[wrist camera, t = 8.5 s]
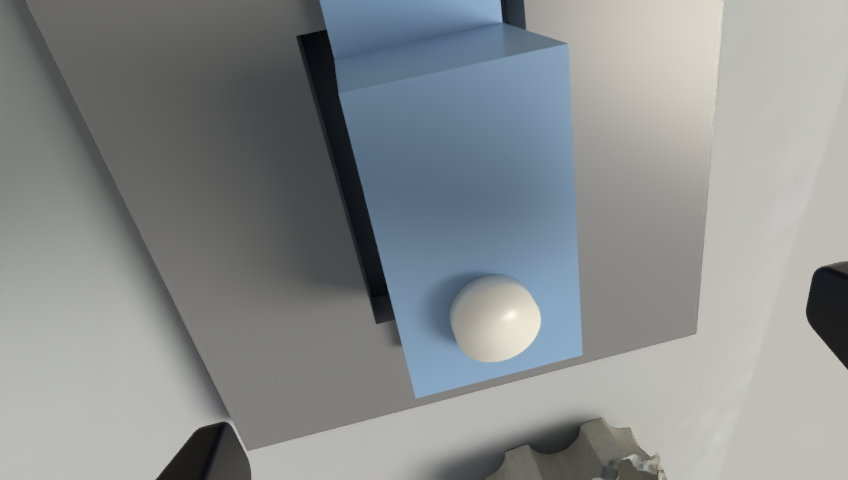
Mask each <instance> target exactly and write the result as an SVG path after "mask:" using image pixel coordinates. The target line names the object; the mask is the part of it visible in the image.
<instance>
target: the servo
mask: <svg viewBox="0 0 848 480" xmlns="http://www.w3.org/2000/svg"><path fill="white" fill-rule="evenodd" d="M320 4H321V8H322V12H323V16H324V20H325V24H326V28H327V32H328V36H329V40H330V44H331V48H332V52H333V56H334V61H335V69H336V77H337V85H338V94H339V98H340V102H341V106H342V110H343V113H344V117H345V121H346V125H347V129H348V133H349V137H350V141H351V145H352V149H353V153H354V157H355V161H356V165H357V169H358V173H359V177H360V181H361V185H362V188H363V192H364V196H365V200H366V204H367V208H368V212H369V216H370V220H371V224H372V228H373V232H374V236H375V240H376V244H377V248H378V252H379V256H380V260H381V263H382V267H383V271H384V275H385V279H386V283H387V287H388V291H389V295H390V299H391V303H392V307H393V311H394V315H395V319H396V323H397V327H398V331H399V335H400V338H401V342H402V346H403V350H404V354H405V358H406V362H407V366H408V370H409V374H410V378H411V382H412V386H413V390H414V394H415V398H420V397H424V396H428V395H431V394H435V393H439V392H443V391H447V390H451V389H455V388H458V387H462V386H466V385H470V384H474V383H478V382H481V381H485V380H489V379H493V378H497V377H501V376H505V375H508V374H512V373H516V372H520V371H524V370H528V369H532V368H535V367H539V366H543V365H547V364H551V363H555V362H559V361H562V360H566V359H570V358H574V357H578V356H582V355H583V352H582V330H581V309H580V287H579V265H578V243H577V222H576V200H575V178H574V156H573V135H572V113H571V91H570V69H569V48H568V43H565V42H562V41H559V40H556V39H552V38H549V37H546V36H543V35H540V34H537V33H533V32H530V31H527V30H524V29H521V28H518V27H515V26H511V25H508V24H505V23H503V21H502V11H501V1H500V0H320Z"/></svg>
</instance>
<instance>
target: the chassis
mask: <svg viewBox="0 0 848 480" xmlns="http://www.w3.org/2000/svg"><path fill="white" fill-rule="evenodd" d="M25 2H26V4H27V6H28V8H29V10H30V12H31V14H32V16H33V18H34V20H35V22H36V24H37V26H38V28H39V30H40V32H41V34H42V36H43V38H44V40H45V42H46V44H47V46H48V48H49V51H50V53H51V55H52V57H53V59H54V61H55V63H56V65H57V67H58V69H59V71H60V73H61V75H62V77H63V79H64V81H65V83H66V85H67V87H68V89H69V91H70V93H71V95H72V97H73V99H74V101H75V103H76V105H77V107H78V109H79V111H80V113H81V115H82V117H83V119H84V121H85V123H86V125H87V127H88V129H89V131H90V134H91V136H92V138H93V140H94V142H95V144H96V146H97V148H98V150H99V152H100V154H101V156H102V158H103V160H104V162H105V164H106V166H107V168H108V170H109V172H110V174H111V176H112V178H113V180H114V182H115V184H116V186H117V188H118V190H119V192H120V194H121V196H122V198H123V200H124V202H125V204H126V206H127V208H128V210H129V212H130V214H131V217H132V219H133V221H134V223H135V225H136V227H137V229H138V231H139V233H140V235H141V237H142V239H143V241H144V243H145V245H146V247H147V249H148V251H149V253H150V255H151V257H152V259H153V261H154V263H155V265H156V267H157V269H158V271H159V273H160V275H161V277H162V279H163V281H164V283H165V285H166V287H167V289H168V291H169V293H170V295H171V297H172V300H173V302H174V304H175V306H176V308H177V310H178V312H179V314H180V316H181V318H182V320H183V322H184V324H185V326H186V328H187V330H188V332H189V334H190V336H191V338H192V340H193V342H194V344H195V346H196V348H197V350H198V352H199V354H200V356H201V358H202V360H203V362H204V364H205V366H206V368H207V370H208V372H209V374H210V376H211V378H212V380H213V383H214V385H215V387H216V389H217V391H218V393H219V395H220V397H221V399H222V401H223V403H224V405H225V407H226V409H227V411H228V413H229V415H230V417H231V419H232V421H233V423H234V425H235V427H236V429H237V431H238V433H239V435H240V437H241V439H242V441H243V443H244V445H245V447H246V449H247V451H250V450H254V449H257V448H261V447H265V446H269V445H273V444H277V443H280V442H284V441H288V440H292V439H296V438H300V437H303V436H307V435H311V434H315V433H319V432H323V431H326V430H330V429H334V428H338V427H342V426H346V425H349V424H353V423H357V422H361V421H365V420H368V419H372V418H376V417H380V416H384V415H388V414H391V413H395V412H399V411H403V410H407V409H411V408H414V407H418V406H422V405H426V404H430V403H434V402H437V401H441V400H445V399H449V398H453V397H457V396H460V395H464V394H468V393H472V392H476V391H480V390H483V389H487V388H491V387H495V386H499V385H502V384H506V383H510V382H514V381H518V380H522V379H525V378H529V377H533V376H537V375H541V374H545V373H548V372H552V371H556V370H560V369H564V368H568V367H571V366H575V365H579V364H583V363H587V362H591V361H594V360H598V359H602V358H606V357H610V356H613V355H617V354H621V353H625V352H629V351H633V350H636V349H640V348H644V347H648V346H652V345H656V344H659V343H663V342H667V341H671V340H675V339H679V338H682V337H686V336H690V335H694V334H696V331H697V319H698V307H699V295H700V283H701V271H702V259H703V246H704V234H705V222H706V210H707V198H708V186H709V174H710V162H711V150H712V138H713V126H714V114H715V102H716V90H717V77H718V65H719V53H720V41H721V29H722V17H723V5H724V0H506V9H507V20H508V25H511V26H515V27H518V28H521V29H524V30H527V31H530V32H533V33H537V34H540V35H543V36H546V37H549V38H552V39H556V40H559V41H562V42H565V43H568V48H569V69H570V91H571V113H572V135H573V156H574V178H575V200H576V222H577V243H578V265H579V287H580V309H581V330H582V352H583V355H582V356H578V357H574V358H570V359H566V360H562V361H559V362H555V363H551V364H547V365H543V366H539V367H535V368H532V369H528V370H524V371H520V372H516V373H512V374H508V375H505V376H501V377H497V378H493V379H489V380H485V381H481V382H478V383H474V384H470V385H466V386H462V387H458V388H455V389H451V390H447V391H443V392H439V393H435V394H431V395H428V396H424V397H420V398H415V394H414V390H413V386H412V382H411V378H410V374H409V370H408V366H407V362H406V358H405V354H404V350H403V346H402V342H401V338H400V335H399V331H398V327H397V323H396V319H395V315H394V311H393V307H392V303H391V299H390V295H389V294H386V295H382V296H378V297H374V298H372V296H371V292H370V289H369V285H368V281H367V278H366V274H365V270H364V267H363V263H362V259H361V256H360V252H359V249H358V245H357V241H356V238H355V234H354V230H353V227H352V223H351V219H350V216H349V212H348V209H347V205H346V201H345V198H344V194H343V190H342V187H341V183H340V179H339V176H338V172H337V169H336V165H335V161H334V158H333V154H332V150H331V147H330V143H329V139H328V136H327V132H326V129H325V125H324V121H323V118H322V114H321V110H320V107H319V103H318V99H317V96H316V92H315V88H314V85H313V81H312V78H311V74H310V70H309V67H308V63H307V59H306V56H305V52H304V48H303V45H302V41H301V38H300V35H303V34H308V33H313V32H317V31H322V30H327V28H326V24H325V20H324V16H323V12H322V8H321V4H320V0H25Z"/></svg>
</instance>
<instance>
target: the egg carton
mask: <svg viewBox="0 0 848 480" xmlns="http://www.w3.org/2000/svg"><path fill="white" fill-rule="evenodd" d="M660 461H661V460H660V457H659V455H658V452H657V451H656V454H655V455H654V456H653V457H650V456H649V455H648V454H647V453H646V452H645V451H643V450H642V449H641V448H640V446H639V445H638V443H637V441H636V439H635V437H634V434H633V432H632V430H631V428H613V427H612V426H610V425H608V424H607V423H606V421H605V420H604V419H603V418H598V419H595V420H592V421H590V422H587V423H584V424H582V425H581V426H580V431H579V435H578V437H577V439H576V440H575V441H574V443H573V444H571V445H570V446H569V447H568V448H566V449H565V450H563V451H561V452H558V453H554V454H542V453H538V452H536V451H534V450H533V449H531V447H530V446H529V445H523V446H520V447H517V448H515V449H511V450H509V451H507V452H505V458H504V462H503V464H502V466H501V467H500V468H499V469H498V470H497V471H496V472H495V473H493V474H492V475H490V476H488V477H486V478H485V480H667V478H666V476H665V473H664V470H663V468H662V466H661V463H660Z"/></svg>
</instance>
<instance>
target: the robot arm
mask: <svg viewBox="0 0 848 480" xmlns="http://www.w3.org/2000/svg"><path fill="white" fill-rule="evenodd" d="M806 316H807V319H808V322H809V324H810V325H811V327H812V328H813V329H814V330H815V332H816V333H817V334H818V335H819V336H820V338H821V339H822V340H823V341H824V342H825V343H826V345H827V346H828V347H829V348H830V349H831V350H832V352H833V353H834V354H835V355H836V356H837V358H838V359H839V360H840V361H841V362H842V363H843V364H844V366H845V367H846V368H847V369H848V262H846V261H844V262H838V263H834V264H830V265H826V266H822V267H820V268H818V269H817V270H816V271H815V272H814V274H813V277H812V281H811V286H810V292H809V297H808V302H807V307H806ZM156 480H251V469H250V464H249V460H248V458H247V456H246V454H245V452H244V450H243V448H242V446H241V444H240V442H239V440H238V438H237V436H236V434H235V432H234V430H233V428H232V426H231V425H230V424H229V423H227V422H219V423H215V424H212V425H208V426H204V427H201V428H199V429H197V430H196V431H195V432H194V433H193V434H192V436H191V437H190V438H189V439H188V440H187V442H186V443H185V444H184V445H183V447H182V448H181V449H180V450H179V452H178V453H177V454H176V455H175V457H174V458H173V459H172V460H171V461H170V463H169V464H168V465H167V466H166V468H165V469H164V470H163V471H162V473H161V474H160V475H159V476H158V478H157V479H156Z"/></svg>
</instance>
